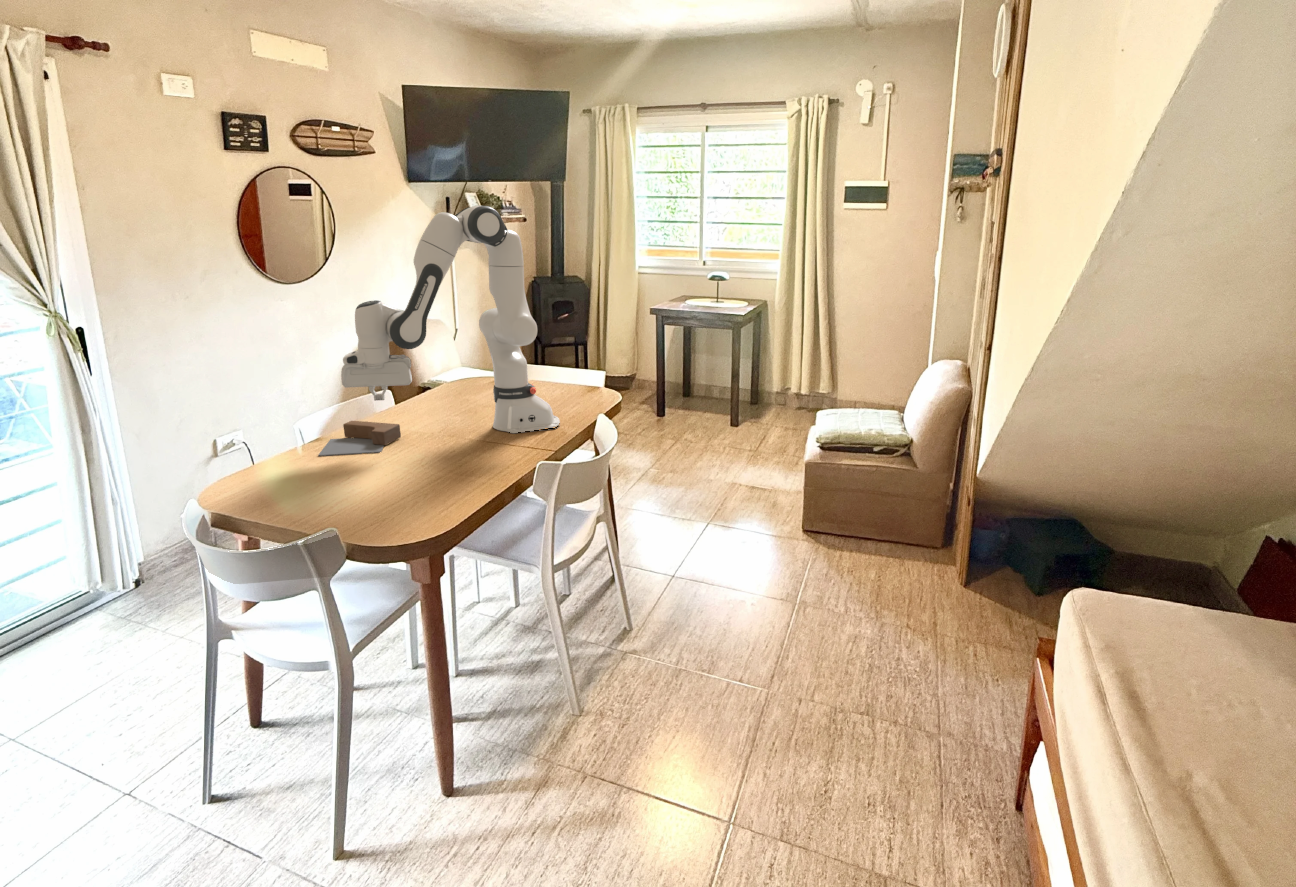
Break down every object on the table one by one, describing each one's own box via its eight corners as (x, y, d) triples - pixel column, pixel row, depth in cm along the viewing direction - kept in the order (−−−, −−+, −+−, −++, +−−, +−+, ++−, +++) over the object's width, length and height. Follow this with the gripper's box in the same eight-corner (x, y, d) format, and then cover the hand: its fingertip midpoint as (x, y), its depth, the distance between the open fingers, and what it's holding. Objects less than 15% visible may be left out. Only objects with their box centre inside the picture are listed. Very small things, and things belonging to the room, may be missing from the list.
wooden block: (383, 432, 229) (333, 428, 233) (385, 445, 230) (335, 441, 235) (400, 423, 237) (351, 420, 242) (401, 437, 238) (353, 433, 243)
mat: (389, 436, 240) (389, 435, 240) (380, 452, 225) (380, 451, 225) (330, 440, 237) (330, 439, 237) (318, 456, 222) (318, 455, 222)
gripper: (411, 352, 228) (415, 396, 233) (341, 354, 225) (347, 398, 229) (408, 356, 222) (413, 401, 227) (337, 358, 219) (343, 404, 223)
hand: (379, 400), depth 228 cm, fingers closed
